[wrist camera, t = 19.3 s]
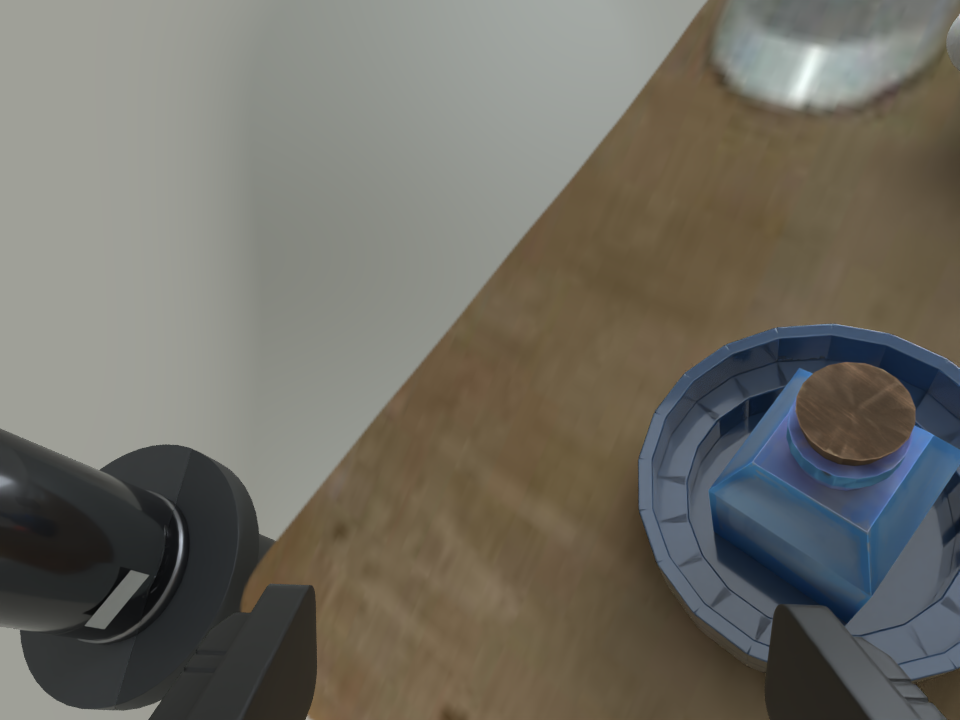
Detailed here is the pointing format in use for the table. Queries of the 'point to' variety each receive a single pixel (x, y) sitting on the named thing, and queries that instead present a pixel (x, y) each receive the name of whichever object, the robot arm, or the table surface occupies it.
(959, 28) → the teacup
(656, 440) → the bowl
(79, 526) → the robot arm
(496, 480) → the table surface
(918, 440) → the perfume bottle
